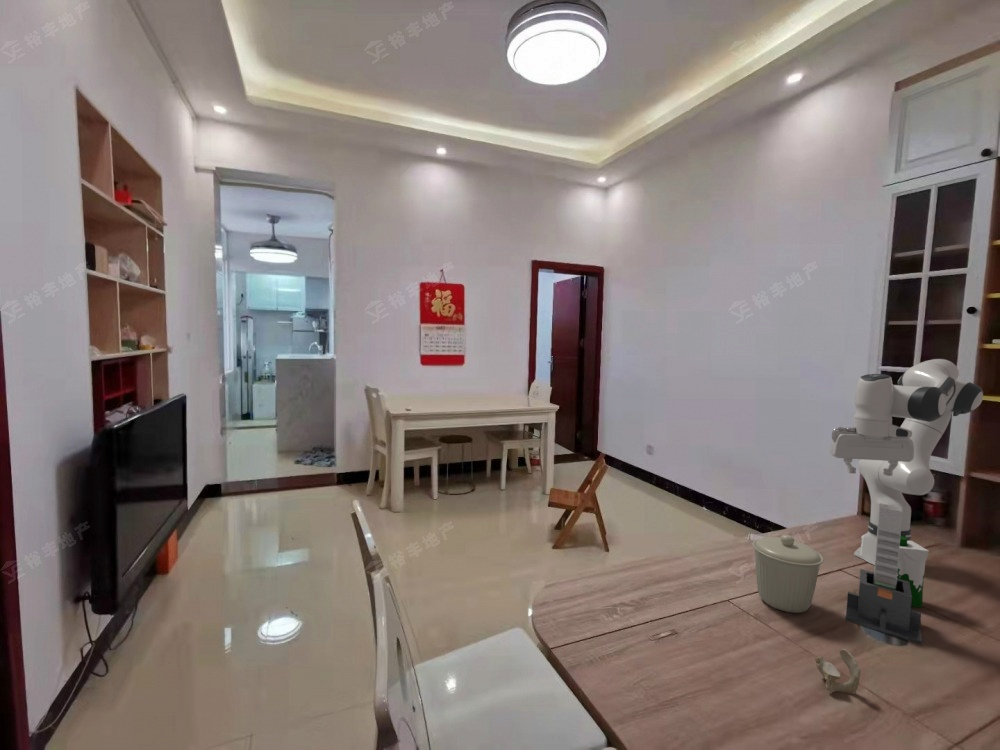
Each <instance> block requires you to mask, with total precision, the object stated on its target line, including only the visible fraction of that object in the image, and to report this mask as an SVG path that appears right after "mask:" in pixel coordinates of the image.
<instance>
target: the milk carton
mask: <svg viewBox="0 0 1000 750" xmlns="http://www.w3.org/2000/svg"><path fill="white" fill-rule="evenodd" d="M929 552H930V550H928V549H926V548H925V547H924V546H921V545H920V544H918V543H916V542H915V541H913V540H910V541H907V538H906V537H904V536H900V547H899V559H898V571H897V579H901V580H905V581H909V583H910V589H911V595H912V601H911V608H912V607H913V608H921V609H922V608H923V603H924V602H923V600H924V598H923V597H924V580H925V569H926V561H927V560H928V555H929Z"/></svg>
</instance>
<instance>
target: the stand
mask: <svg viewBox="0 0 1000 750" xmlns="http://www.w3.org/2000/svg"><path fill="white" fill-rule="evenodd" d="M859 570H860V571H859V582H858V583H859V585H858V593H855V592H851V591H847V597H846V598H847V599H846V600H847V601H846V611H845V621H847V622H849V623H853V624H856V625H859V626H861V627H865V628H869V629H871V630H875V631H878V632H881V633H882V634H883V633H884V634H886V635H889V636H894V637H896V638H900V639H901V640H905V641H908V642H911V643H915V644H918V645H923V638H922V632H921V617H922V612H920V611H916V610H913V609H912V607H911V601H912V595H911V589H910V583H909V581H905V580H901V579H897V584H896V590H892V589H889V588H885V587H881V586H878V585H874V584H873V580H874V571H870V570H866V569H863V568H860V569H859Z"/></svg>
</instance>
